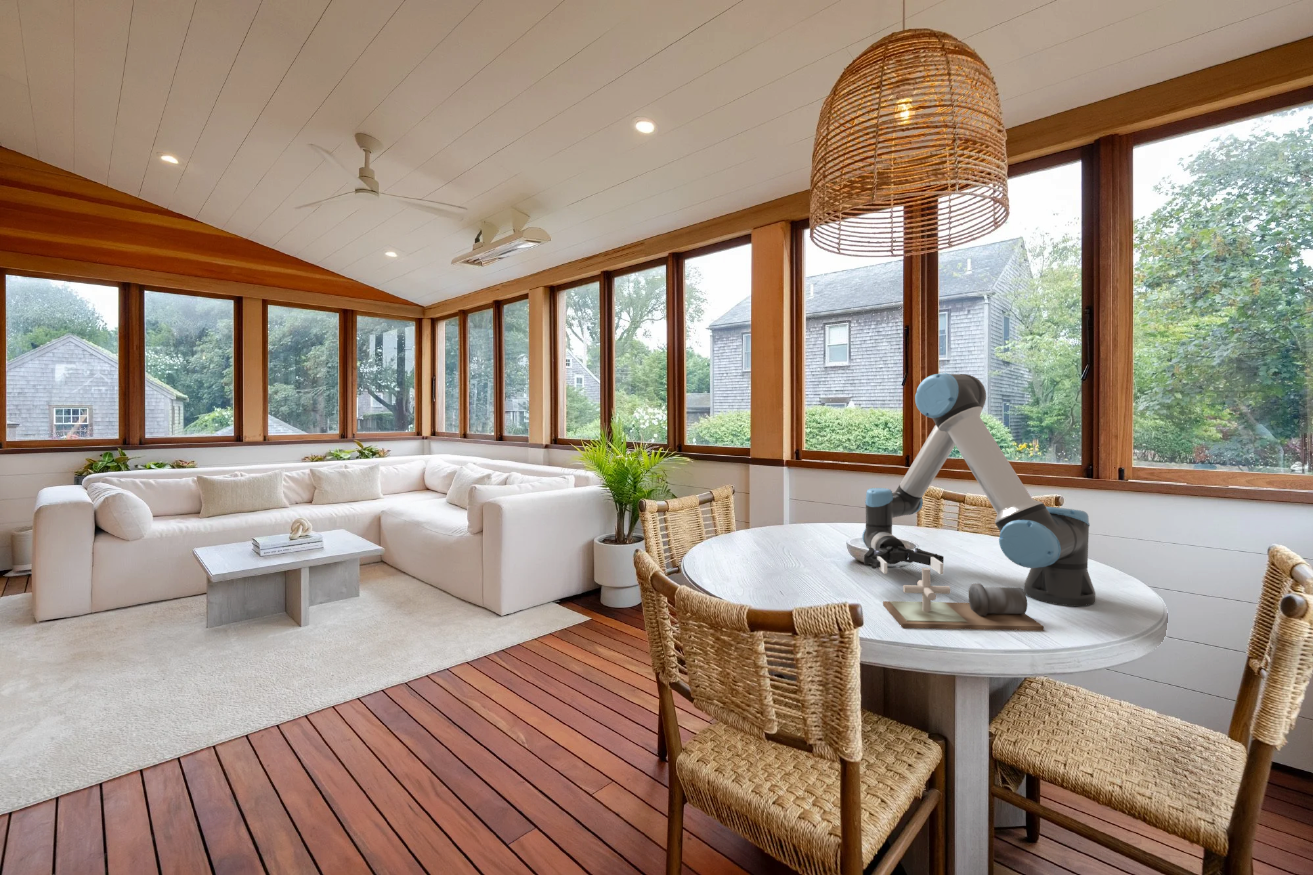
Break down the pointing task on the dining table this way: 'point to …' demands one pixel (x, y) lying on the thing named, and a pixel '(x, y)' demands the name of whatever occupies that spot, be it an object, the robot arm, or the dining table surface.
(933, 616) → the fitting board
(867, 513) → the robot arm
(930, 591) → the pipe connector
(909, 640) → the dining table surface
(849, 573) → the dining table surface
